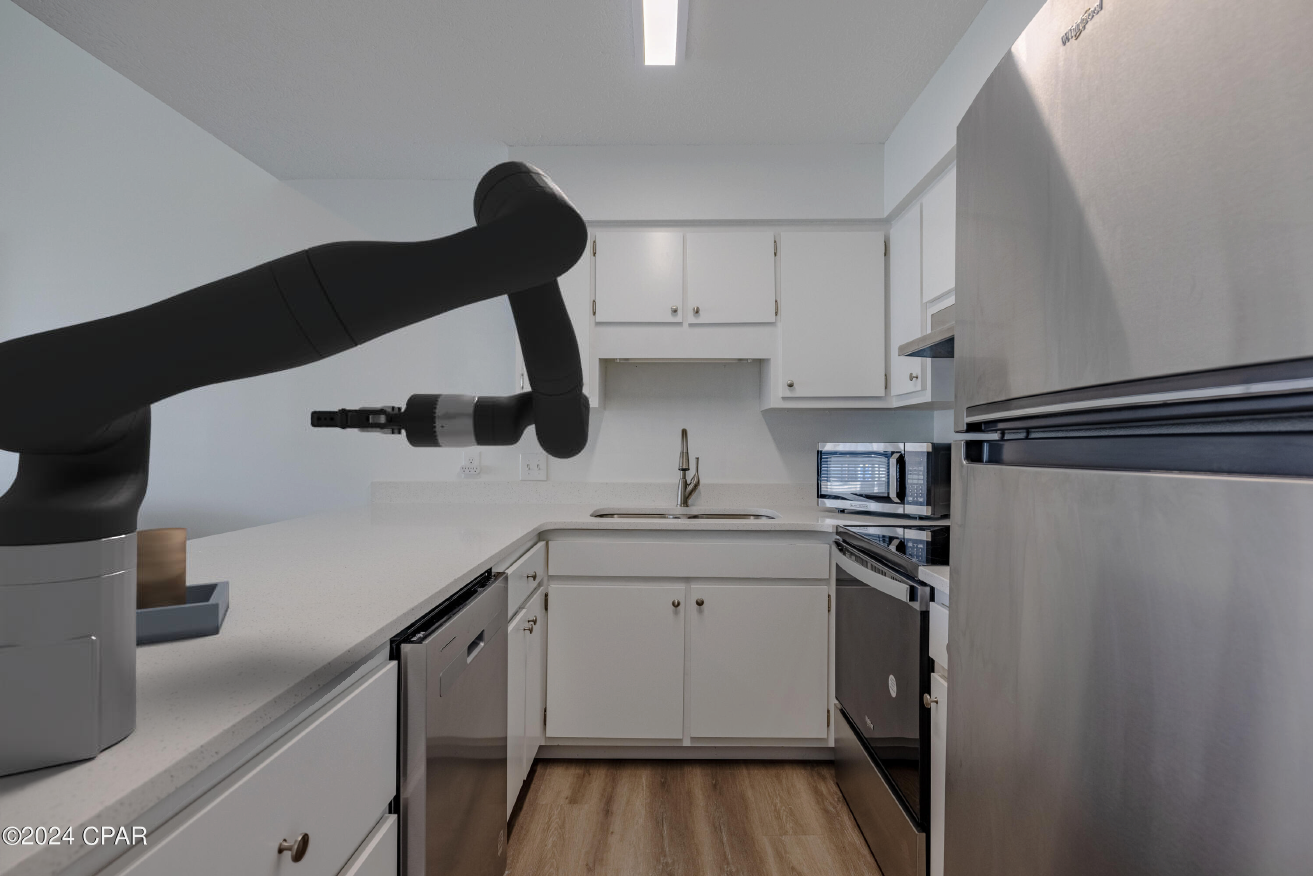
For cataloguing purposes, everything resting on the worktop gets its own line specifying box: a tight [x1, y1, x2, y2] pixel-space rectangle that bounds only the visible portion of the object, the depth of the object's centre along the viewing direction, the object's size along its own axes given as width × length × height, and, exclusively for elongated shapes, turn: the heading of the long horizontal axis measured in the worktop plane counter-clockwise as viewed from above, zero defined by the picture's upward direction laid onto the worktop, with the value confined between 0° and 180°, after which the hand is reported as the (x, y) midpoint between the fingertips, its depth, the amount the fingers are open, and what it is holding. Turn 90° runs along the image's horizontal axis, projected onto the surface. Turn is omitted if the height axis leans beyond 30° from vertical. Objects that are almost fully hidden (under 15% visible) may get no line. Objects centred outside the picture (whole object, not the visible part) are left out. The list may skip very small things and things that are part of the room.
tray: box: [136, 580, 230, 646], centre depth 81 cm, size 14×14×4 cm
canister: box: [136, 527, 187, 610], centre depth 81 cm, size 5×5×12 cm
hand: (327, 420), depth 84 cm, fingers open, 8 cm apart
